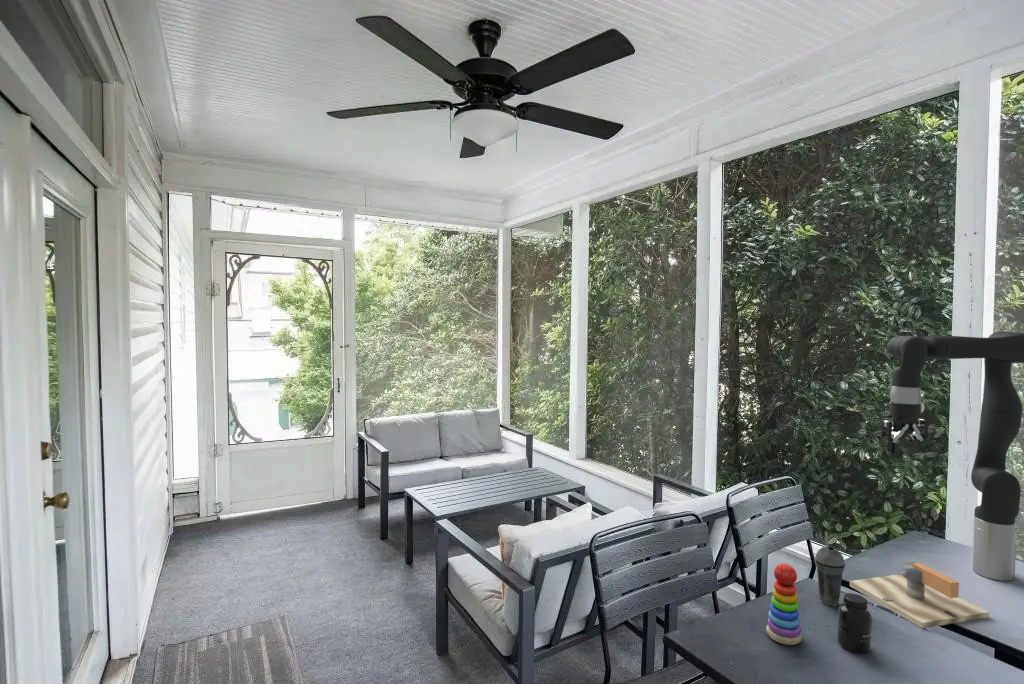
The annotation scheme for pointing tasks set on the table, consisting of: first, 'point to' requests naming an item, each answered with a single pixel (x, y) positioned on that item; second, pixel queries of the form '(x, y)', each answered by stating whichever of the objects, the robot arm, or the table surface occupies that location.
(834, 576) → the beverage cup
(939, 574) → the orange lever handle
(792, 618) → the stacking toy
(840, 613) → the supplement bottle
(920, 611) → the post board
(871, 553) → the table surface
